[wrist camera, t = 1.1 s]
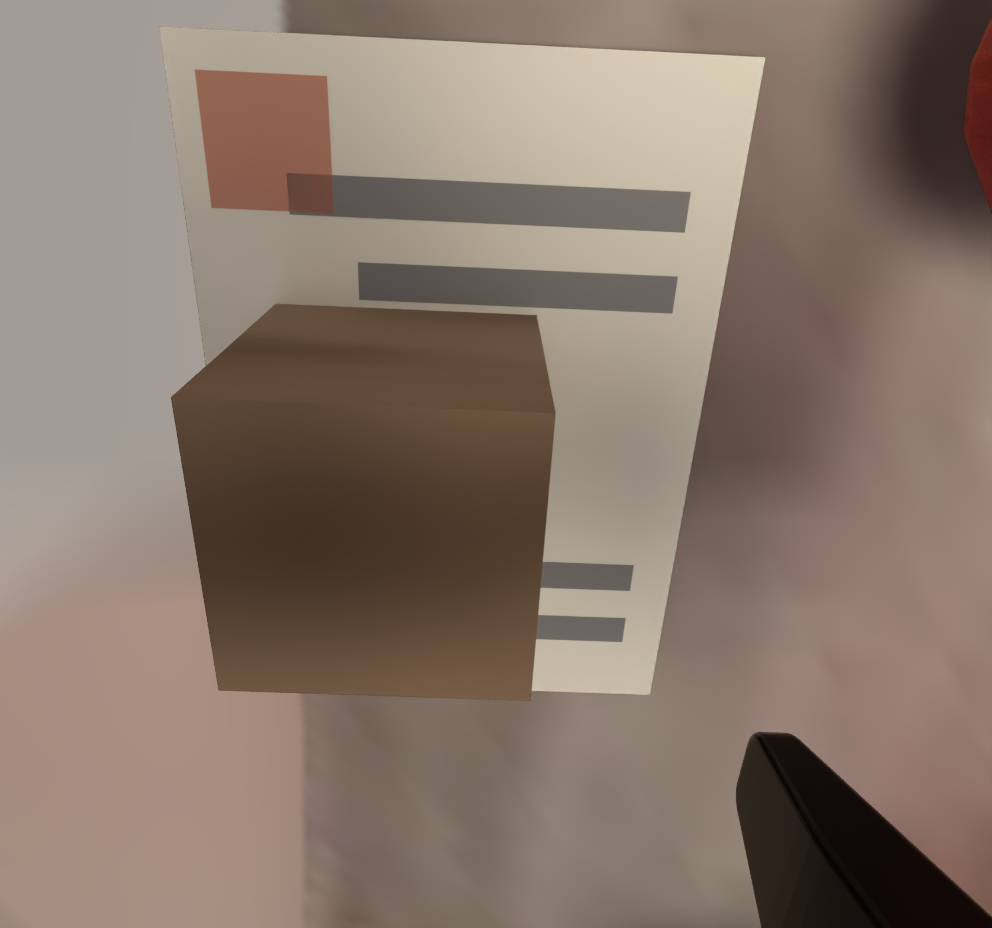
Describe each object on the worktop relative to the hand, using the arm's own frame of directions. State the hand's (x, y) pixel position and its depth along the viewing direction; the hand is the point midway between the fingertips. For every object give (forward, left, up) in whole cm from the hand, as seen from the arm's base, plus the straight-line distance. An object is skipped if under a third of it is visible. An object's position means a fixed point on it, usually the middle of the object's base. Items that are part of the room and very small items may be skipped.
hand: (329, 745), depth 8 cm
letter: (0, -1, -9) cm, 9 cm away
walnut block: (0, 0, -8) cm, 8 cm away
